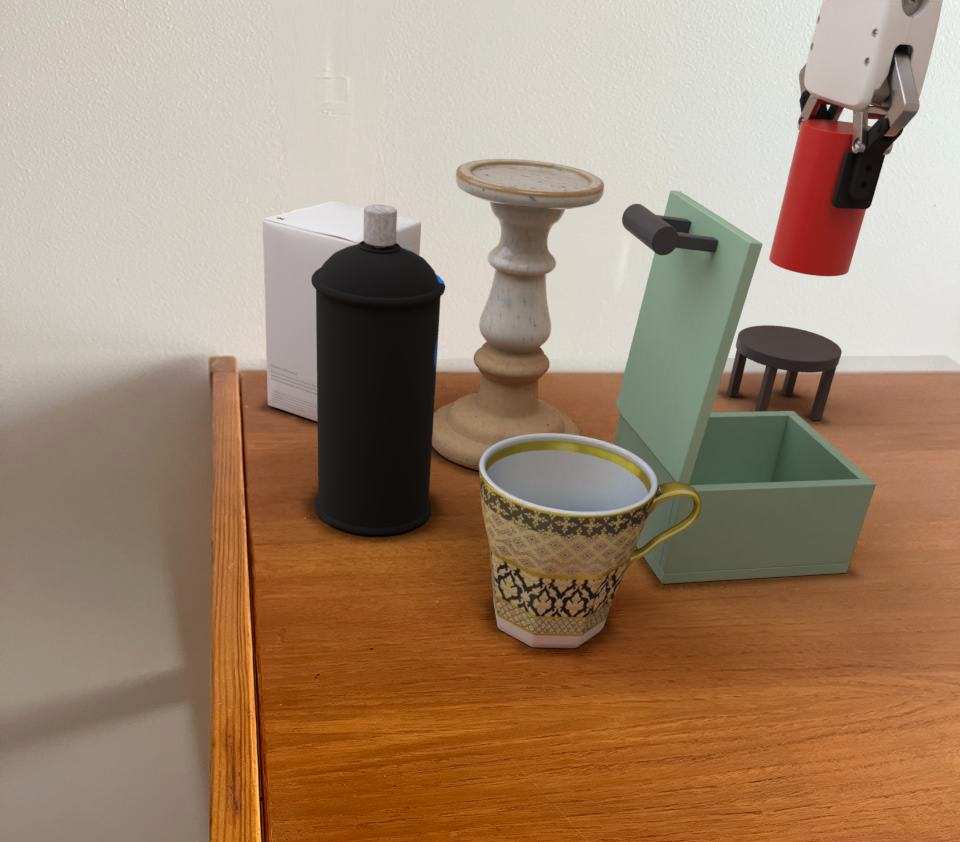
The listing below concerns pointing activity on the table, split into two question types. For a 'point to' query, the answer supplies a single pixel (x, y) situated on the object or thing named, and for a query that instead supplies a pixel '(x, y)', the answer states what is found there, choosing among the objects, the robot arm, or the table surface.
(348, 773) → the table surface
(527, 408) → the candle holder
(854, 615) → the table surface
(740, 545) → the green open box
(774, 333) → the stool
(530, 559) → the ceramic cup
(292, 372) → the rectangular carton
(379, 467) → the aerosol can
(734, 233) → the lid
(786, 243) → the can
